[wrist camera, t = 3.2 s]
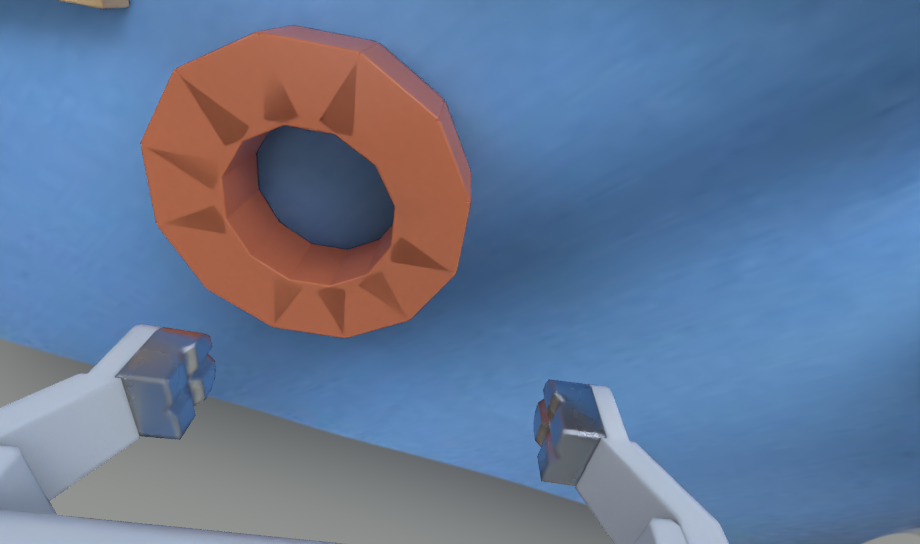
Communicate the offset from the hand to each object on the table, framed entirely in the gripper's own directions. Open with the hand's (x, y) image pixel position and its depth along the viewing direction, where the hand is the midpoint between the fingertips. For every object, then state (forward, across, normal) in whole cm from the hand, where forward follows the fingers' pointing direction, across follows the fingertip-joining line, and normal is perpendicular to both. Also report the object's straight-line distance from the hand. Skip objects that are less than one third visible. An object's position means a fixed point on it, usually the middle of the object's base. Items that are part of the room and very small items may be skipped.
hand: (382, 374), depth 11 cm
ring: (+11, -4, 0) cm, 12 cm away
